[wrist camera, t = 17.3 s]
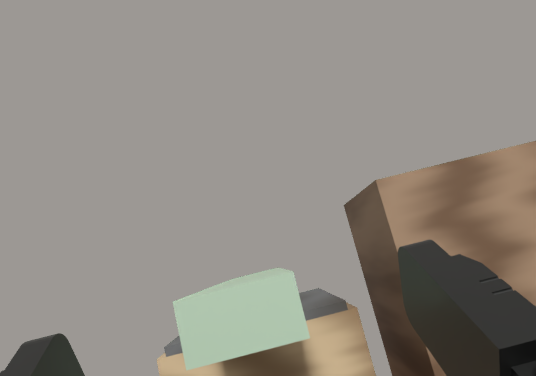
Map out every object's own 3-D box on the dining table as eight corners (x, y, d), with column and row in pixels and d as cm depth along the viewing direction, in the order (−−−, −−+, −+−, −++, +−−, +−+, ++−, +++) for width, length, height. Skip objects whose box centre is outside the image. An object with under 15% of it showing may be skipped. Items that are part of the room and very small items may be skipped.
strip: (186, 370, 14) (172, 301, 15) (237, 304, 38) (231, 279, 38) (310, 338, 14) (293, 271, 15) (284, 292, 38) (278, 267, 39)
